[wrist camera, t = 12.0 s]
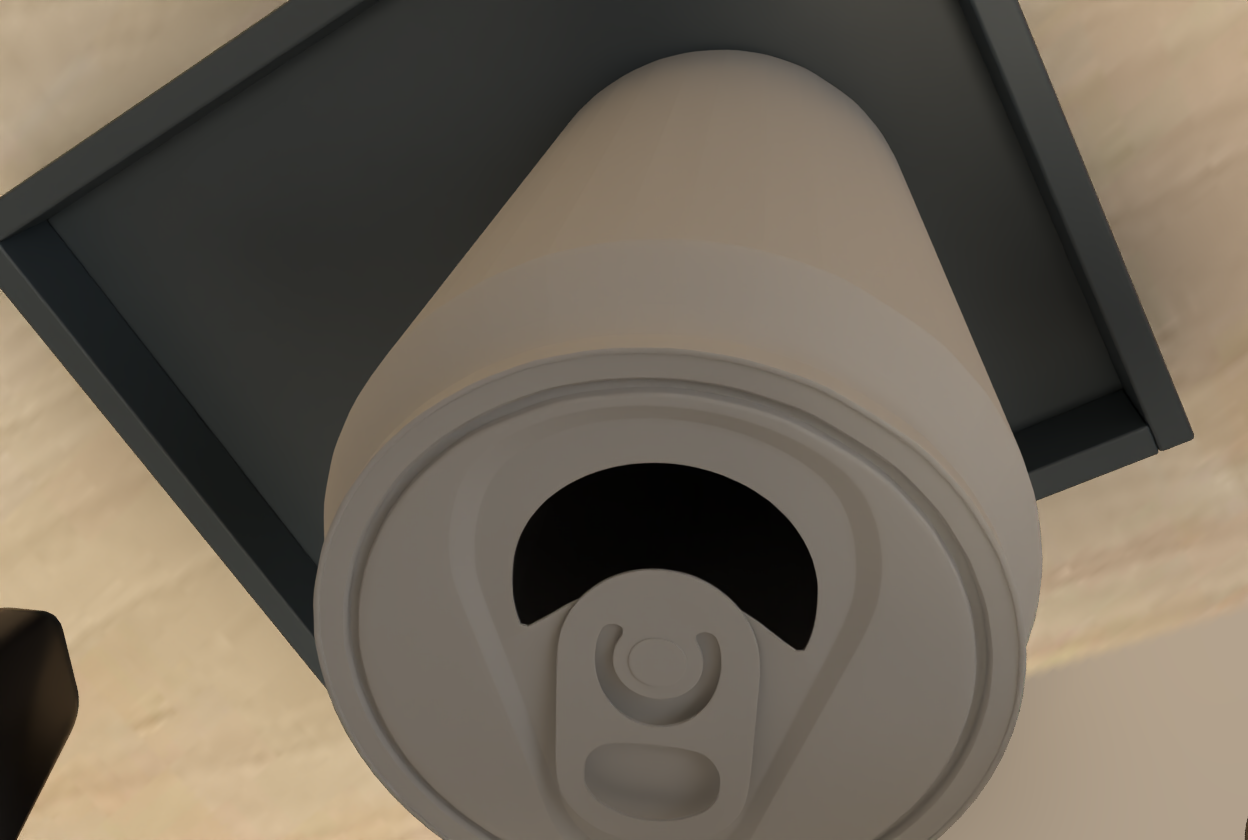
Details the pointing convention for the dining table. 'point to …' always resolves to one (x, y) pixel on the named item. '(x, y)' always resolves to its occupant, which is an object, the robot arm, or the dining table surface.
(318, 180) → the rectangular tray
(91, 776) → the dining table surface
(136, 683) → the dining table surface
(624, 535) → the beverage can
